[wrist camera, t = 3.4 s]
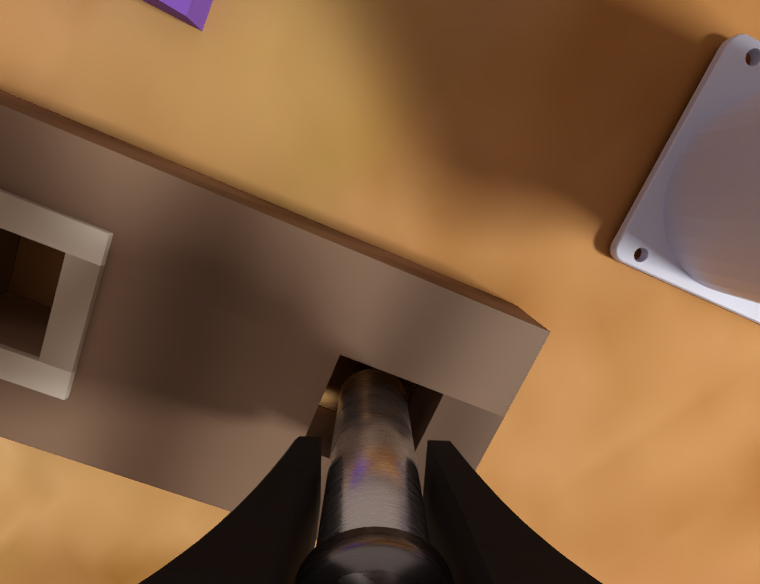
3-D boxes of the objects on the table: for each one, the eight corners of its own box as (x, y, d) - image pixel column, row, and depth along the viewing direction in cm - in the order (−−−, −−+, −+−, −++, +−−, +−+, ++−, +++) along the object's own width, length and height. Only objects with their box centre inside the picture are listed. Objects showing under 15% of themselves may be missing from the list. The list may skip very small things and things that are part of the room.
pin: (427, 378, 15) (490, 587, 7) (393, 446, 15) (417, 707, 8) (349, 348, 14) (324, 532, 7) (318, 419, 15) (263, 663, 7)
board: (517, 305, 16) (553, 334, 13) (411, 510, 18) (420, 577, 15) (-21, 81, 14) (-136, 49, 10) (-70, 346, 16) (-178, 384, 13)
